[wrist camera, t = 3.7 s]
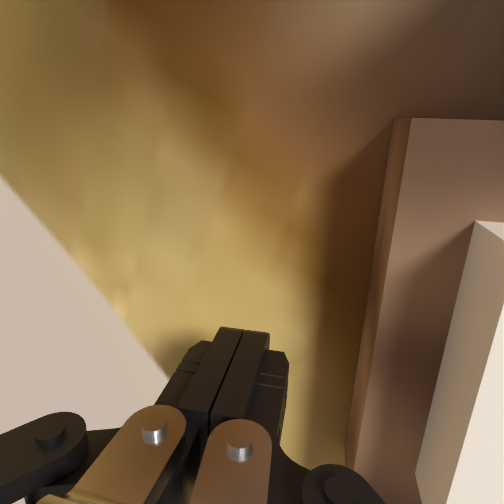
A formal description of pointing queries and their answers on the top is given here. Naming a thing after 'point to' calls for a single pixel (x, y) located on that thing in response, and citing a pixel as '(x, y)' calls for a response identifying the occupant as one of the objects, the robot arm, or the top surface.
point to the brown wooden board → (417, 288)
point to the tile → (470, 386)
